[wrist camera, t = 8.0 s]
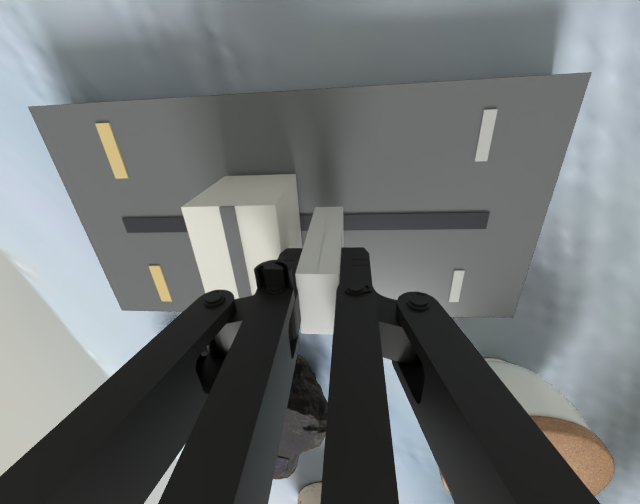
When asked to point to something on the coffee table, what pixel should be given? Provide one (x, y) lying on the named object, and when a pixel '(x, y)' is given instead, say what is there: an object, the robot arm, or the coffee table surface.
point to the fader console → (329, 179)
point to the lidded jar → (558, 424)
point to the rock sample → (301, 419)
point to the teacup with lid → (310, 494)
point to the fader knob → (242, 228)
